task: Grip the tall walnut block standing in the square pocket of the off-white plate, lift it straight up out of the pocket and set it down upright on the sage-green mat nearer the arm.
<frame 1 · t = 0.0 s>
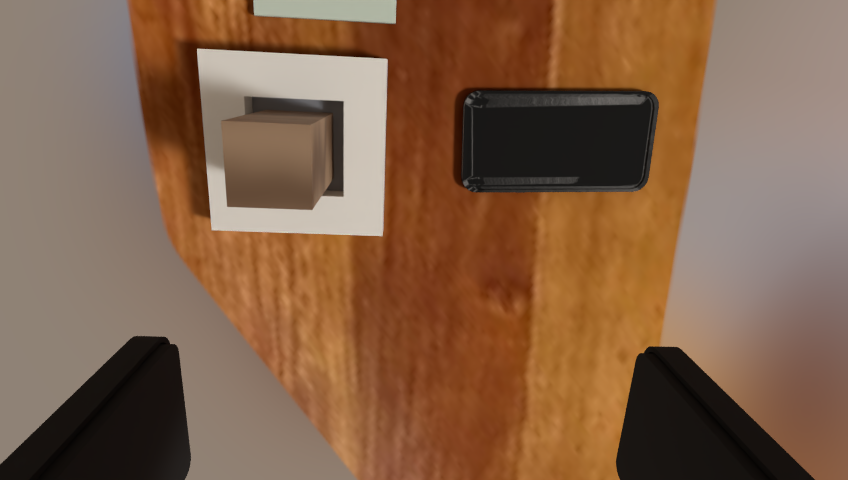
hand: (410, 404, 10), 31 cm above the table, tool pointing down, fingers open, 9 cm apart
pocket plate: (301, 144, 39), on the table
phone: (554, 141, 41), on the table
walnut block: (300, 144, 39), resting on pocket plate
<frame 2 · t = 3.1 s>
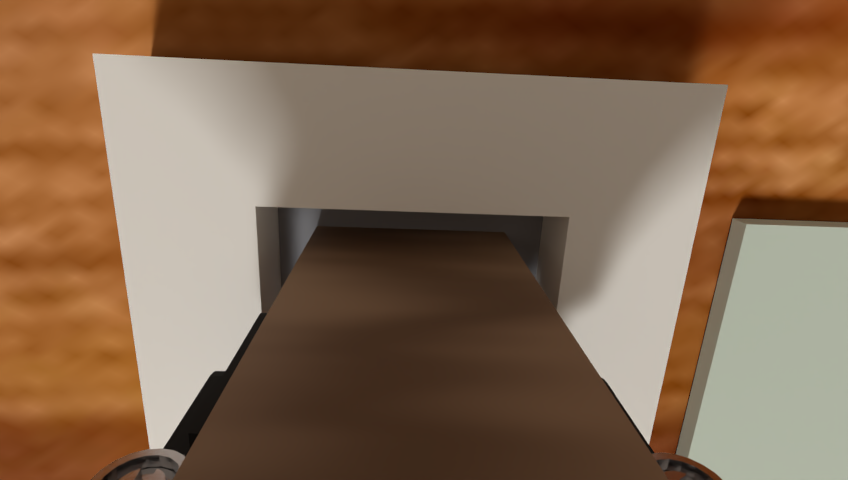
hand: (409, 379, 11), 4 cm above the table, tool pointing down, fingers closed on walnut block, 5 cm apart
pocket plate: (408, 308, 15), on the table
walnut block: (408, 314, 14), resting on pocket plate, touching gripper
when the fingers open (5 cm above the table, at t = 10.2 s): walnut block drops 1 cm, resting on green mat.
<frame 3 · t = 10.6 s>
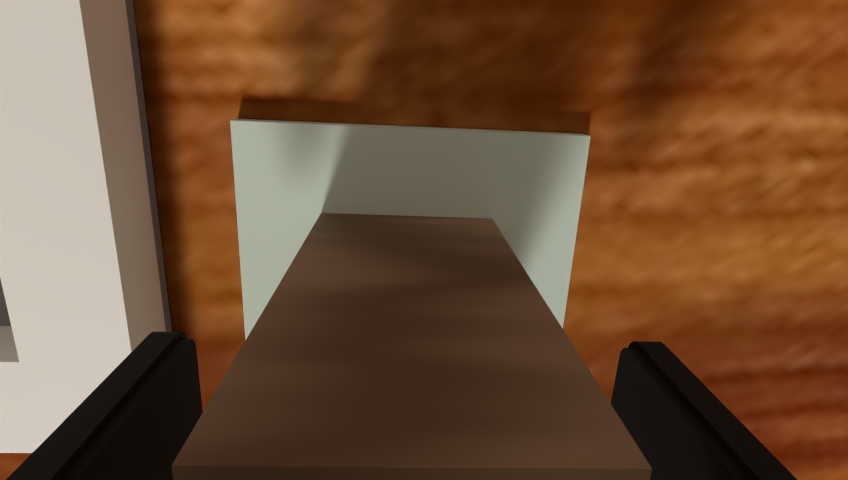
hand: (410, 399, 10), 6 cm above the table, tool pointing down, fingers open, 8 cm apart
green mat: (407, 286, 16), on the table
walnut block: (404, 294, 16), point 1 cm above the table, touching green mat
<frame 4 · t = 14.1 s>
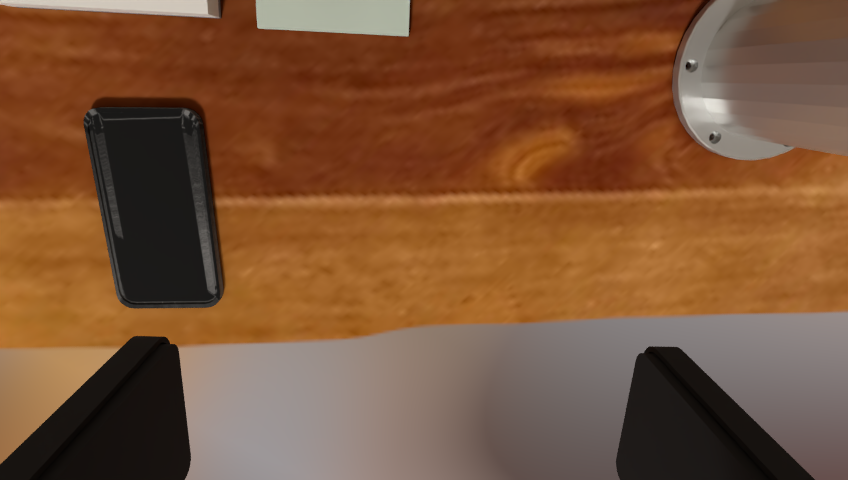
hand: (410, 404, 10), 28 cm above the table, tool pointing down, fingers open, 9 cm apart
phone: (163, 209, 38), on the table
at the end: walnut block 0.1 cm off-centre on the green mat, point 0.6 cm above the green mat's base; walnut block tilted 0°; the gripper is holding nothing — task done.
